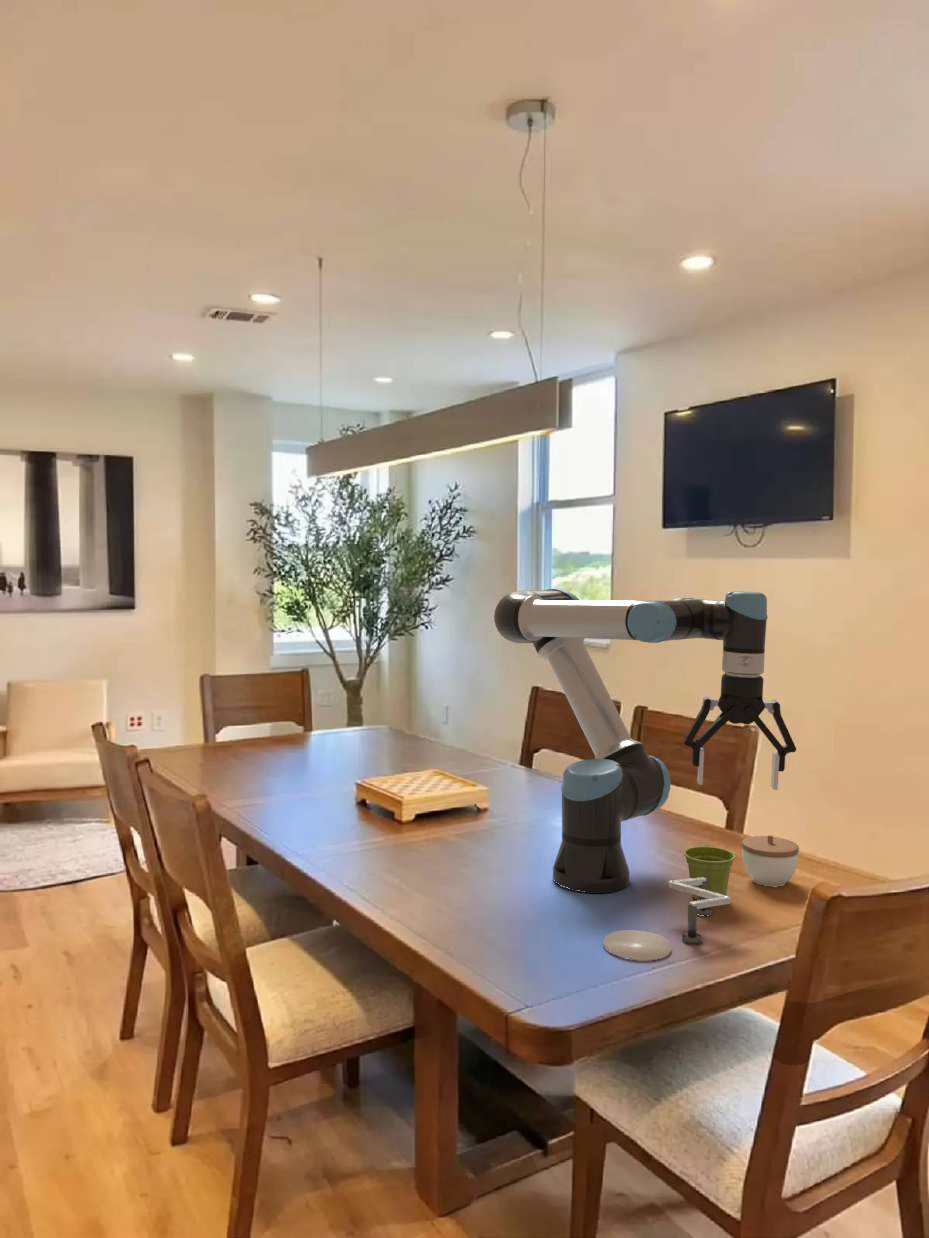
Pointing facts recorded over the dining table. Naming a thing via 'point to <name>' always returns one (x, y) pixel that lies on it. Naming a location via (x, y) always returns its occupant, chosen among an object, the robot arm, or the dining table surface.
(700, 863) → the plant pot
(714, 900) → the zigzag bar on posts
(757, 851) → the lidded jar
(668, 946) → the pad
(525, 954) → the dining table surface
